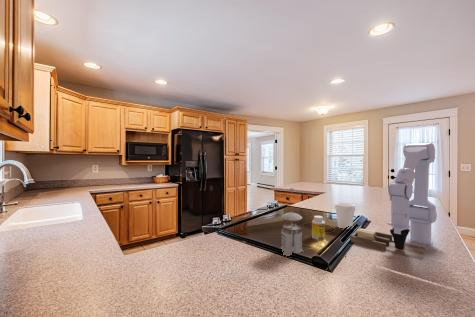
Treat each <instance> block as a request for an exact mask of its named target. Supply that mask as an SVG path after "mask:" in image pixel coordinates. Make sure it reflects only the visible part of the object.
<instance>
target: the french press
mask: <svg viewBox="0 0 475 317" xmlns="http://www.w3.org/2000/svg"><path fill="white" fill-rule="evenodd" d="M289 192H295V189H294V188H292V187H291V188H289ZM280 218H281V219H283V220H285V221H291V223H290V224H284V225H282V229H281V231H280V232H281V239H280V240H281V246H280V248H281V249H282V252H283V251H284V252H283V255H282V256H284V255H286V256H285V257H287V256H290V255H292V251H294V253H300V252H301V251H303V246H302V245H303V243H302V242H303V236H302V235H303V231H302V227H301V226H299V225H297V223H295V224H294V223H293V221H294V222H296V221H301V220H302V219H303V216H301V214H299V213H295V212H293V211H291V212H286V213H284V214H281V216H280Z"/></svg>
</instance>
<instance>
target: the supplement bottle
mask: <svg viewBox="0 0 475 317" xmlns="http://www.w3.org/2000/svg"><path fill="white" fill-rule="evenodd" d="M325 228H326V222H325V221H324V217H323V216H322V215H313V219H312V220H311V238H312V239H314V240H317V241H318V240H319V241H322V239H323V240H325V239H324V238H325V234H326V229H325Z"/></svg>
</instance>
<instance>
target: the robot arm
mask: <svg viewBox="0 0 475 317" xmlns="http://www.w3.org/2000/svg"><path fill="white" fill-rule="evenodd" d="M435 147H436V146H435V144H434V143H432V142H427V143H425V142H423V143H406V144H405V145H404V146H403V149H402V151H403V156H404V157H405V160H404V163H403V166H402V168H400V169H399V170H398V172H397V173H396V177H395V179H394V182H392V183H390V184H389V186H388V189H387V190H388V195H389V201H390V206H391V207H390V209H391V210H390V222H389V221H387V226H391V228H392V229H391V228H390V229H389V232H390V233H389V234H390V235H392V240H393V241H394V243H395V247H396V249H399V250H403V247H404V242H405V243H406V241H407V237H408V235H409V234H410V235H409V237H408V241H411V242H415V243H419V244H420V243H421V244H425V245H430V246H433V242H434V240H433V238H432V224H434V223H435V222H436V220H437V218H438V217H437V207H436V205H435V204H433V203H432V202H431V201H429V200H428V197H429V196H428V195H429V174H430V173H429V172H430V170H429V169H430V164H431V163H432V164H433V163H434V162H435V159H436V148H435ZM413 185H414V186H413ZM413 187H414V188H413ZM412 195H413V196H412ZM412 197H413V199H412Z"/></svg>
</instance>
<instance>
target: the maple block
mask: <svg viewBox="0 0 475 317" xmlns="http://www.w3.org/2000/svg"><path fill="white" fill-rule="evenodd" d="M359 228H360V227H359ZM359 228H358V229H359ZM358 229H357V230H358ZM376 232H377V231H376V230H371V229H365V228H360V229H359V230H358V237H360V238H364V239H369V240H373V241H376V239H380V240H384V241H389V242H393V243H394V239H392V240H388V239H383V238H379V237H376ZM405 243H406V241H405V242H404V247H403V250H405ZM395 248H396V247H395Z"/></svg>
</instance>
